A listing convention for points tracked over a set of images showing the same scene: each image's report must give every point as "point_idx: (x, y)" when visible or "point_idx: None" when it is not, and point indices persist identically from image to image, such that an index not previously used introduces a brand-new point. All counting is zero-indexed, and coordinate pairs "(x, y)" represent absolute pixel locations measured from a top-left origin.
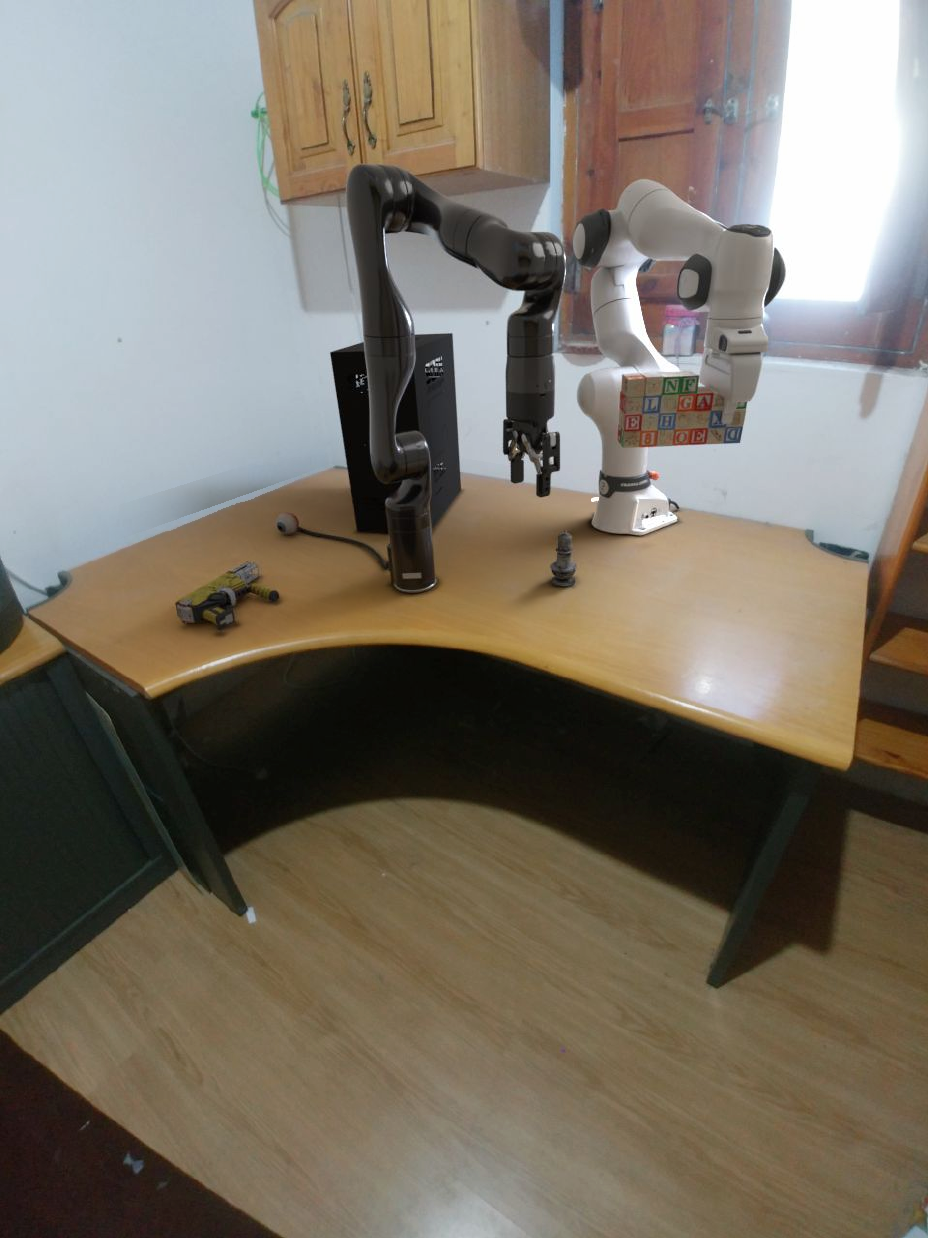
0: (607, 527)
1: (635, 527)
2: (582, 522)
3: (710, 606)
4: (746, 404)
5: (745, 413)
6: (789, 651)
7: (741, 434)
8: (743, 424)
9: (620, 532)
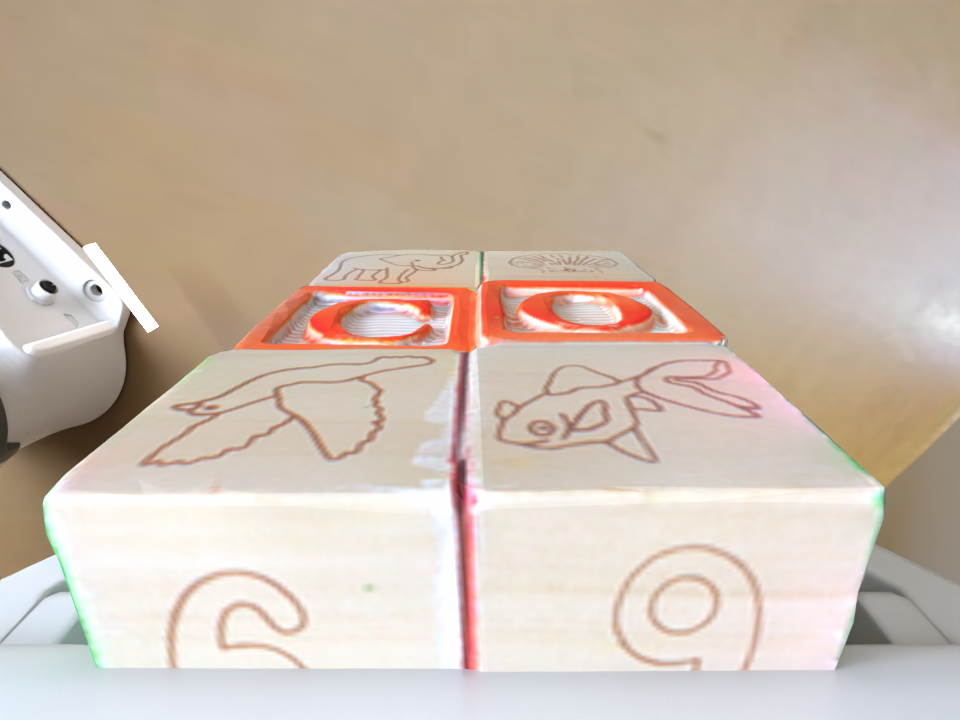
0: (107, 399)
1: (93, 315)
2: (42, 449)
3: (622, 210)
4: (751, 372)
5: (707, 322)
6: (882, 77)
7: (635, 265)
8: (669, 289)
9: (123, 358)
